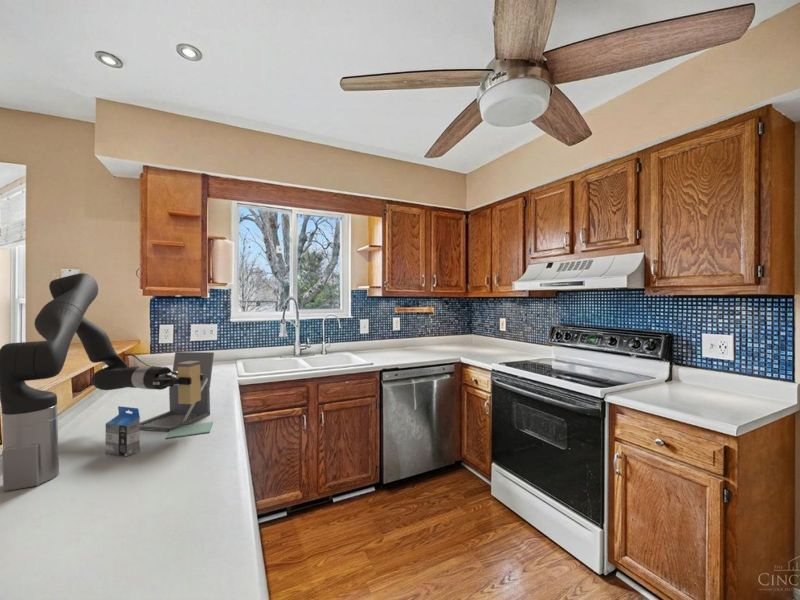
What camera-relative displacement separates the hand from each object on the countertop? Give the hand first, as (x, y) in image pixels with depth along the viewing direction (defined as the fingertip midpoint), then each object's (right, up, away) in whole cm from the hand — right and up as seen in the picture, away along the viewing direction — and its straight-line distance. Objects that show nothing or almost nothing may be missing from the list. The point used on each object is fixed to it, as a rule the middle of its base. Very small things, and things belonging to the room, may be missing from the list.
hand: (196, 379), depth 116 cm
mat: (-2, -17, +1) cm, 17 cm away
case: (-14, -17, +11) cm, 25 cm away
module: (-3, -8, +1) cm, 8 cm away
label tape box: (-12, -17, -15) cm, 26 cm away
